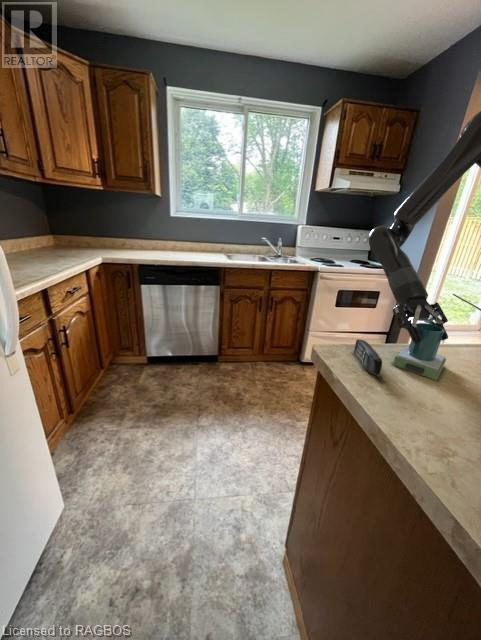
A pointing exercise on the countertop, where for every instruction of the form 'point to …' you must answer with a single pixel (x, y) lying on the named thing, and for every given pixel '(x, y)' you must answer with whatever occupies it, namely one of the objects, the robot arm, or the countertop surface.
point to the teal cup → (426, 342)
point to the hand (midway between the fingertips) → (431, 340)
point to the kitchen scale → (420, 364)
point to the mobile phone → (368, 357)
